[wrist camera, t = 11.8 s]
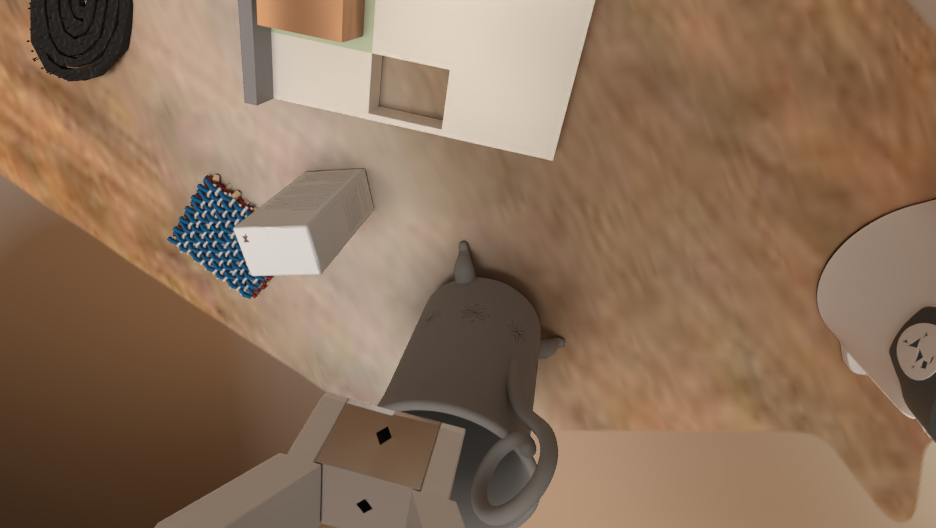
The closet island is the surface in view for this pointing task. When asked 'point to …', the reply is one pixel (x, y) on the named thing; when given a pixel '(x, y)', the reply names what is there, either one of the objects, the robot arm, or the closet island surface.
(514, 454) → the mug
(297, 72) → the trap deck
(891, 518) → the closet island surface
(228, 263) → the woven mat
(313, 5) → the block
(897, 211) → the robot arm
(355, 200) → the skincare box
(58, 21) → the hairbrush
